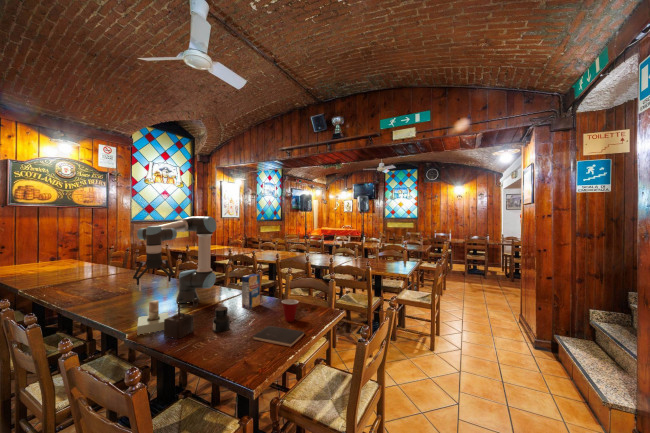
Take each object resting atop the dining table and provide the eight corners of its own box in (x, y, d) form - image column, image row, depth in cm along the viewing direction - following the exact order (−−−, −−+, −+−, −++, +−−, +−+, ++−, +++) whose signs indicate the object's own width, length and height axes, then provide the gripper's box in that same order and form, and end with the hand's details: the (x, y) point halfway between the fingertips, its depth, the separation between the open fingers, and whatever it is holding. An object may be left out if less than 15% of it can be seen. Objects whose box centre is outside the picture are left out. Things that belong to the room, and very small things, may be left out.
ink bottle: (217, 325, 162) (217, 305, 162) (232, 326, 162) (232, 306, 162) (209, 332, 153) (210, 311, 153) (225, 333, 152) (225, 311, 152)
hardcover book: (290, 348, 137) (291, 343, 137) (252, 340, 145) (252, 336, 145) (304, 335, 152) (304, 331, 152) (269, 328, 160) (269, 324, 160)
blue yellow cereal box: (241, 307, 195) (242, 276, 195) (252, 303, 205) (252, 273, 205) (249, 308, 192) (249, 277, 192) (259, 304, 202) (259, 274, 202)
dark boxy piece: (179, 339, 144) (179, 305, 144) (163, 336, 147) (163, 303, 147) (201, 328, 159) (201, 297, 159) (186, 325, 162) (186, 295, 162)
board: (167, 320, 170) (167, 312, 170) (169, 329, 156) (169, 320, 156) (138, 325, 162) (138, 317, 162) (137, 335, 148) (137, 326, 148)
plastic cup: (301, 318, 175) (302, 299, 175) (292, 324, 165) (292, 304, 165) (288, 315, 180) (288, 297, 180) (277, 321, 170) (277, 301, 170)
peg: (158, 325, 163) (158, 300, 163) (158, 328, 158) (158, 302, 158) (148, 326, 160) (148, 301, 160) (148, 330, 156) (148, 303, 156)
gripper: (177, 250, 169) (177, 284, 169) (128, 253, 156) (128, 290, 156) (178, 251, 163) (178, 287, 163) (127, 255, 149) (127, 293, 150)
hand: (154, 288), depth 159 cm, fingers open, 13 cm apart
